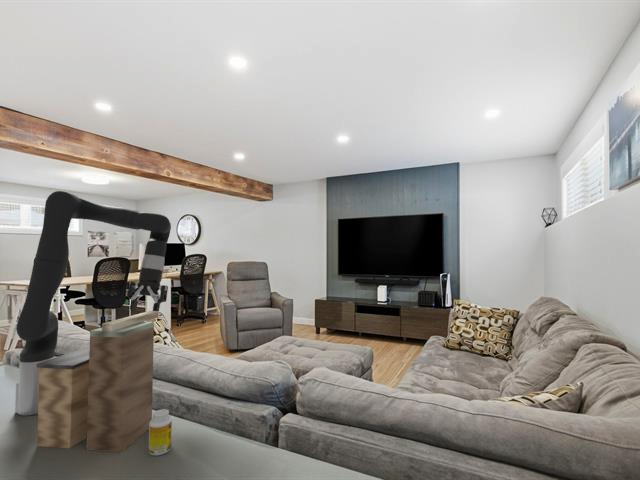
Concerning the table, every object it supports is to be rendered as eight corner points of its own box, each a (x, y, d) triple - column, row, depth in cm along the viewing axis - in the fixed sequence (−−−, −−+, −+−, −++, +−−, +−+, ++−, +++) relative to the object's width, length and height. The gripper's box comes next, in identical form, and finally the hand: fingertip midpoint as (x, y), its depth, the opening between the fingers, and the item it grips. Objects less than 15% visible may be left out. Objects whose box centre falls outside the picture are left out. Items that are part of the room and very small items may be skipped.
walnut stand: (86, 449, 95) (90, 330, 96) (121, 424, 109) (124, 321, 110) (120, 452, 94) (123, 331, 95) (151, 426, 108) (154, 321, 109)
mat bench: (33, 446, 96) (36, 364, 97) (82, 418, 113) (84, 347, 114) (70, 449, 95) (72, 365, 96) (113, 420, 112) (115, 348, 113)
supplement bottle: (171, 453, 93) (172, 414, 94) (148, 458, 91) (149, 418, 91) (170, 443, 98) (171, 406, 99) (148, 448, 96) (149, 410, 96)
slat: (101, 331, 96) (102, 323, 96) (149, 316, 118) (149, 310, 118) (111, 331, 96) (112, 324, 96) (158, 317, 117) (158, 311, 118)
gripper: (128, 265, 128) (119, 310, 125) (164, 268, 125) (155, 314, 123) (141, 267, 135) (132, 310, 132) (175, 270, 133) (167, 314, 130)
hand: (143, 312), depth 127 cm, fingers open, 8 cm apart
